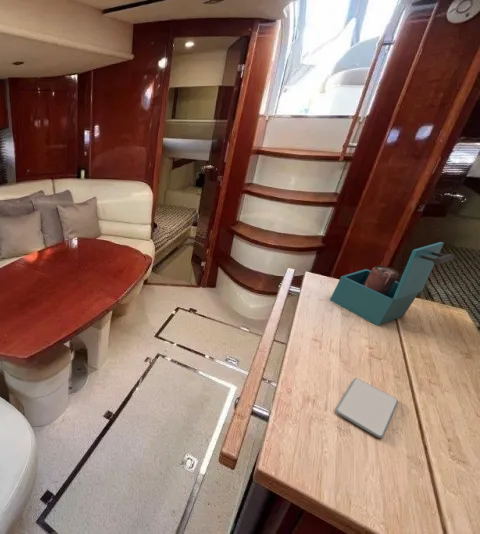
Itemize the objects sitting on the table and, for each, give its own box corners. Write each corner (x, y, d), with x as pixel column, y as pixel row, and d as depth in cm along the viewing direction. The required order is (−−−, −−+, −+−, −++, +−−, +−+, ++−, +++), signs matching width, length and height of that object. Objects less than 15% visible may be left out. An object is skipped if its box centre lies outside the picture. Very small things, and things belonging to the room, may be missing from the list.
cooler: (329, 300, 106) (341, 276, 101) (354, 292, 109) (366, 268, 104) (377, 326, 94) (393, 300, 89) (403, 316, 97) (419, 291, 92)
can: (360, 310, 99) (381, 274, 92) (350, 299, 104) (369, 264, 97) (382, 313, 98) (405, 276, 91) (371, 301, 103) (392, 265, 96)
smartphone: (399, 399, 71) (382, 438, 63) (397, 401, 71) (380, 441, 63) (355, 376, 77) (335, 409, 69) (353, 379, 77) (333, 412, 69)
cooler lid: (412, 249, 83) (437, 255, 78) (440, 241, 86) (465, 247, 82) (392, 298, 89) (414, 306, 85) (418, 289, 92) (440, 296, 88)
